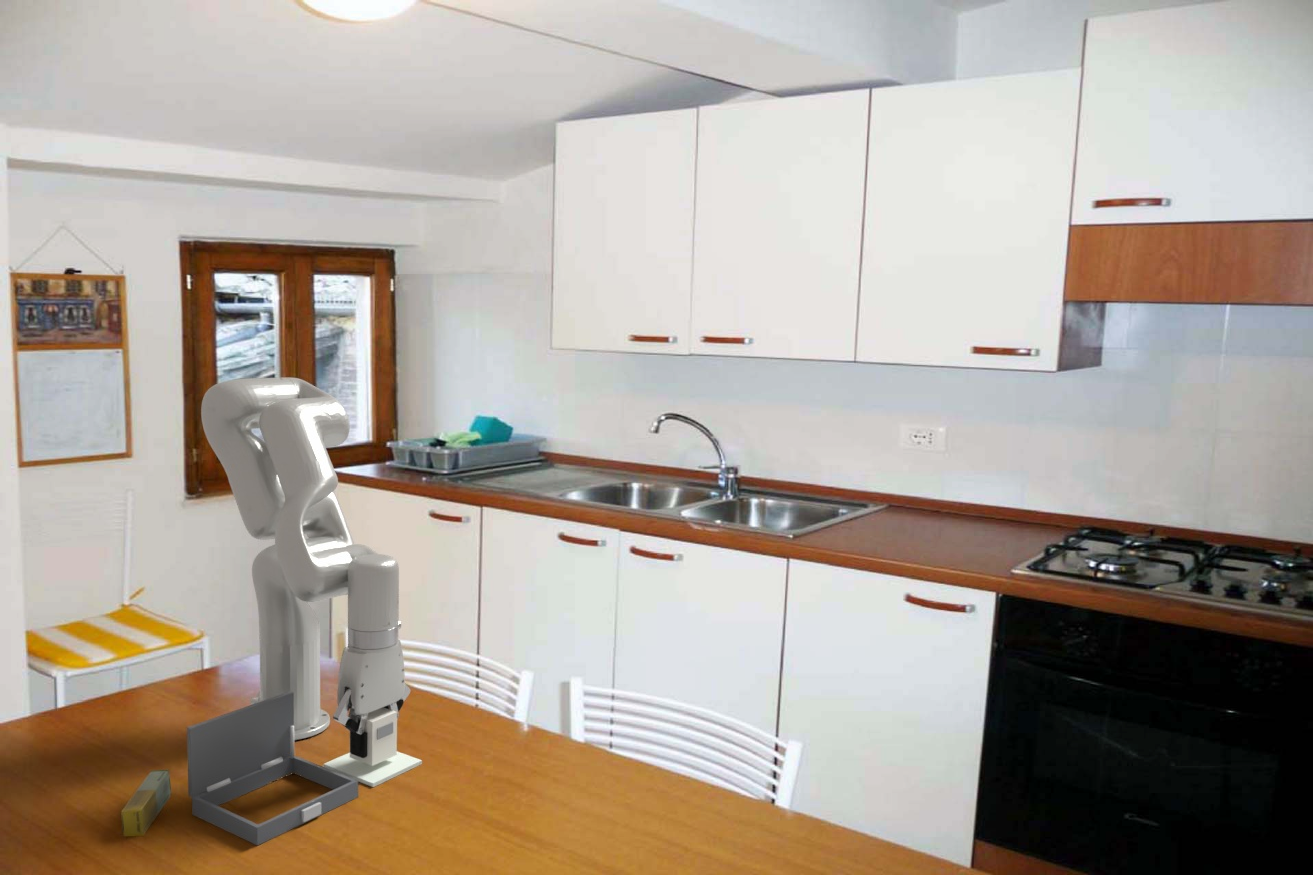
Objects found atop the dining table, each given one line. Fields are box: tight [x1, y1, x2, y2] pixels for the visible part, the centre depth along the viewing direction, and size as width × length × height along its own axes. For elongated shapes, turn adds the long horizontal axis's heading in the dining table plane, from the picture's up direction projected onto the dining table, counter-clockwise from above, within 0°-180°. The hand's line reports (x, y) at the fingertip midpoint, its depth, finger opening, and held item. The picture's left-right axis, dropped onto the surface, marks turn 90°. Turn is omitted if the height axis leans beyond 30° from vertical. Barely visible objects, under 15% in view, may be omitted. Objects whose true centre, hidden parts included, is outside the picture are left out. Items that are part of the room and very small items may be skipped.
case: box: [186, 691, 359, 846], centre depth 150 cm, size 16×17×12 cm
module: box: [349, 707, 398, 766], centre depth 164 cm, size 5×5×7 cm
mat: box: [322, 750, 423, 788], centre depth 165 cm, size 11×10×1 cm
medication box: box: [121, 769, 172, 837], centre depth 147 cm, size 12×3×4 cm, turn 8°
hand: (372, 747), depth 164 cm, fingers closed on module, 5 cm apart
